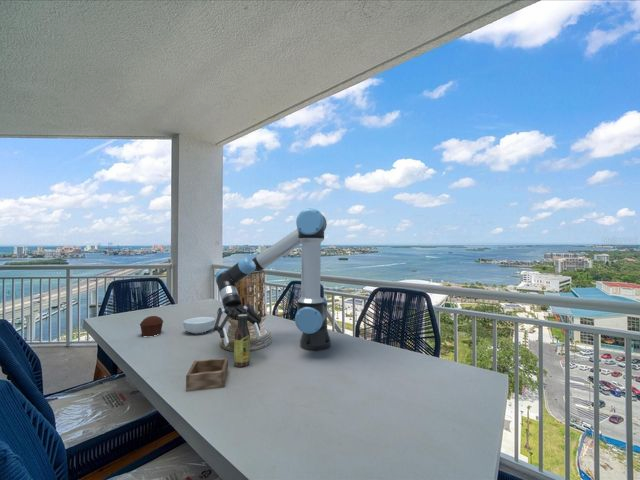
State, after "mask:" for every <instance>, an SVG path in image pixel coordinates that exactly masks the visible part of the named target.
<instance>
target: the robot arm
mask: <svg viewBox="0 0 640 480" xmlns="http://www.w3.org/2000/svg"><path fill="white" fill-rule="evenodd" d="M295 224H296V229H294V230H293V231H291V232H290V233H289V234H287V235H286V236H284V237H282V238H281V239H279V240H278V241H276V242H275V243H274V244H272V245H271V246H269V247H268V248H267V249H265V250H264V251H262V252H261V253H258V255H256V256H255V257H253V258H250V257H248V256H245V257H244V258H242V259H240V260H239V261H238V262H237V263H236V264H234V265H232V267H230V268H222V269H219V270H217V272H215V275H214V276H215V282H216V285H217V289H218V291H219V294H220V295H219V296H220V299H221V302H222V305H223V308H222V307H218V309H217V311H216V314H217V315H216V316H217V317H216V319H215V324H214V326H213V331H214V332H217V333H218V334H219V337H220V339H223V343H224V346H225V347H228V345H229V344H230V342H229V337H228V334H227V330H226V327H225V326H226V324H227V323H228V320H229V319H230V318H232V319H234V318H238V315H241V314H247V315H248V319H247V322H249V323H251V324H252V328H253V331H254V333H255V336H256V337H255V338H256V339H257V341H258V340H260V339H261V337H262V335H261V331H260V330H261V326H260V324H261V323H262V318H261V316H259V315H258V314H257V313H256V312H255V310H254V309H252V307H251V306H250V304H248V303H247V304H246V305H244V306H243V304H242V299H241V297H240V295H239V291H238V289H237V284H238V283H239V281H240V280H241V281H242V280H244V279H245V278H247V277H246V276H247V275H249V274H250V273H252V272H254V271H261V272H262V271H263V270H265V269H266V268H268V267H269V266H270V265H272V264H273V263H275V262H277V261H278V260H280V259H281V258H282V257H284V256H285V255H287V254H289V253H290V252H291V251H293V250H294V249H296V248H298V247H299V246H301V259H300V260H301V263H300V264H301V267H300V268H301V270H300V273H301V274H300V275H301V278H300V280H301V281H300V283H301V284H300V297H299V298H298V299H297V306H296V307H297V308H296V309H297V311H296V313H295V317H294V323H295V325H296V327H297V329H298V330H299V331H300V332H301V333H302V334H301V337H300V339H299V347H301V348H302V349H304V350H309V351H321V350H325V349H326V350H327V349H329V348H330V347H331V346H332V340H331V337H330V334H329V331H328V300H327V298H326V297H321V270H322V269H321V265H322V264H321V263H322V262H321V261H322V260H321V254H322V252H321V251H322V247H321V246H322V245H321V244H322V242H324V241H325V231H326V229H327V219H326V218H325V216H324V215H323V214H322V213H321V211H320V210H318V209H316V208H305V209H303V210H301V211H300V212H299V213H298V215H297V217H296V221H295ZM244 277H245V278H244ZM243 278H244V279H243ZM231 279H232V280H233V281H232V280H231ZM241 281H240V282H241ZM235 282H236V283H235ZM235 284H236V285H235ZM223 313H224V314H226V316H225V318H224V319H223V321H222V322H221V324H220V321H221V317H222V315H223ZM219 324H220V325H219Z"/></svg>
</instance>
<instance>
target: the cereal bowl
mask: <svg viewBox="0 0 640 480" xmlns="http://www.w3.org/2000/svg"><path fill="white" fill-rule="evenodd" d="M182 323H183V324H182V326H183V329H184V330H185V331H187V332H189V333H191V334H192V333H196V334H195V335H198V334H197V333H202V334H204V333H203V332H205V333H207V332H206V331H210V330H211V329H212V328H213V329H214V326H215V323H216V319H215V317H211V316H201V317H200V316H198V317H192V318H187V319H185V320H183V322H182Z"/></svg>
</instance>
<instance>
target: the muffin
mask: <svg viewBox="0 0 640 480" xmlns="http://www.w3.org/2000/svg"><path fill="white" fill-rule="evenodd" d="M163 323H164V320H163V319H162V317H160V316H158V315H150V316H147V317H145V318H144V319H143V320H142V321H141V322H140V324H139V326H140V331H141V336H142V335H143V336H153V337H155V336H154V335H157V334H160V333H162V329H163V328H162V327H163ZM160 335H161V334H160ZM143 336H142V337H143ZM157 336H158V335H157Z"/></svg>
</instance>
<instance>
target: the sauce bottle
mask: <svg viewBox="0 0 640 480" xmlns="http://www.w3.org/2000/svg"><path fill="white" fill-rule="evenodd" d="M247 319H248V315H247V314H243V313H241V315H238V317H237V328H236V329H235V331H234V342H233V343H234V344H233V348H234V349H233V365H234V366H235V367H237V368H238V367H239V368H243V367H247V366H248V365H249V364H250V360H251V354H250V353H251V332H250V329H249V327H248V321H247Z"/></svg>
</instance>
